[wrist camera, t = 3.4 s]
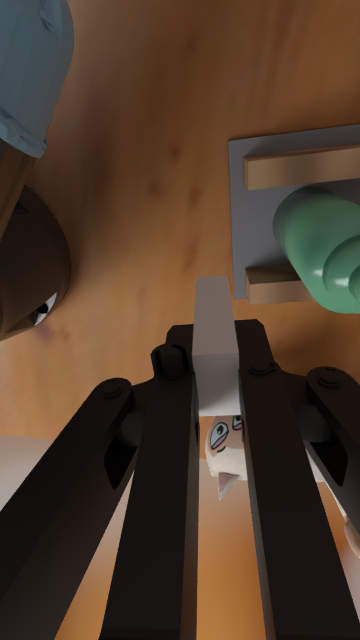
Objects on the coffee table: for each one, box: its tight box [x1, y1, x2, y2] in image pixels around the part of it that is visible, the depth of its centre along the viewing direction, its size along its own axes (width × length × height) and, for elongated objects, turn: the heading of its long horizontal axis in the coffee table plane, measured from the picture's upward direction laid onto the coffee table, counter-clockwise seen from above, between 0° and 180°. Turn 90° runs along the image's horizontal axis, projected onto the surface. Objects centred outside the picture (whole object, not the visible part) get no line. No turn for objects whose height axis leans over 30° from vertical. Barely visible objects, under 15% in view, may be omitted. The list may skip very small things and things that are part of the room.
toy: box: [205, 415, 360, 559], centre depth 30 cm, size 9×19×15 cm, turn 50°
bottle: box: [272, 186, 360, 314], centre depth 20 cm, size 5×5×15 cm
